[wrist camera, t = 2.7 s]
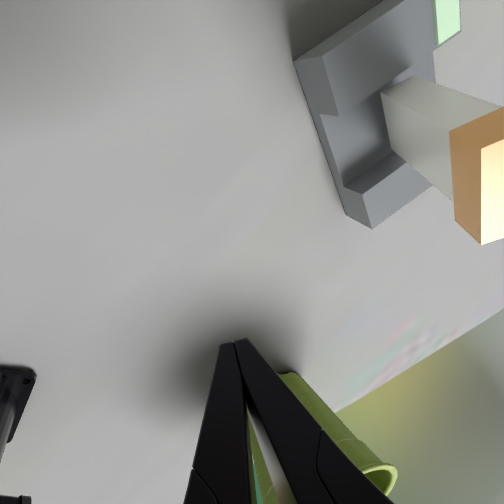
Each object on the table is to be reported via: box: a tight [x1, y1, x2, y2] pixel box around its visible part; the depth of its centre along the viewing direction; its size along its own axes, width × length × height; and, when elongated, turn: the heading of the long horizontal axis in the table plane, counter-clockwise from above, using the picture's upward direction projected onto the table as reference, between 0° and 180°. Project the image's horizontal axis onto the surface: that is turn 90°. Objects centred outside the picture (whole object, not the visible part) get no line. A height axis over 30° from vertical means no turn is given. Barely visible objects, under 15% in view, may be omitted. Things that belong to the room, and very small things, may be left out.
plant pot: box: [246, 372, 397, 504], centre depth 27 cm, size 12×12×11 cm
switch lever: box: [380, 76, 504, 245], centre depth 15 cm, size 3×5×10 cm, turn 29°
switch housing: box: [293, 0, 461, 229], centre depth 20 cm, size 9×12×3 cm
